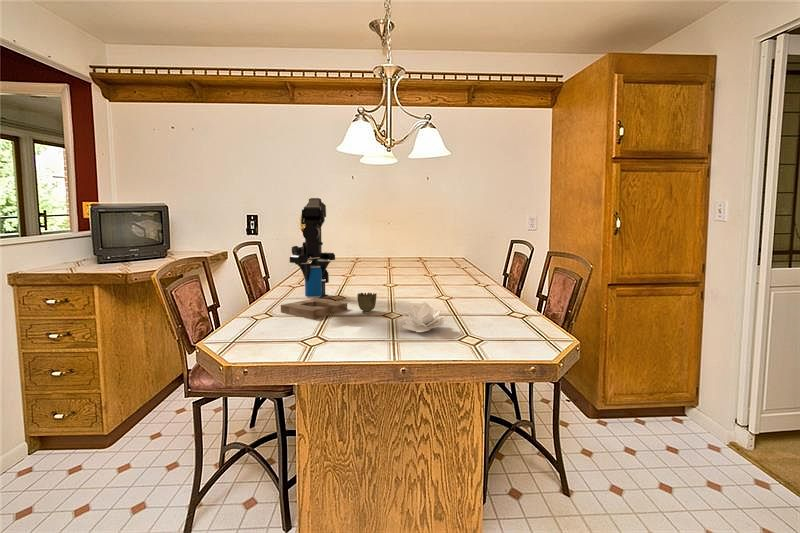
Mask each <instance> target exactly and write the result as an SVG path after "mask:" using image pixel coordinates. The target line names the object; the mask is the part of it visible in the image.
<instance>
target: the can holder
mask: <svg viewBox="0 0 800 533" xmlns="http://www.w3.org/2000/svg"><path fill="white" fill-rule="evenodd" d="M347 310H348V303H347V302H341V301H335V300H329V299H323V298H308V299H305V300H300V301H294V302H289V303H285V304H284V303H283V304H280V313H281V314H285V315H289V316H290V315H291V316H295V317H300V318H303V317H304V319H308V320H312V321H313V320H317V318H318V319H320V318H323V317H327V316H330V315H333V314H337V313H341V312H344V311H347Z"/></svg>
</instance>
